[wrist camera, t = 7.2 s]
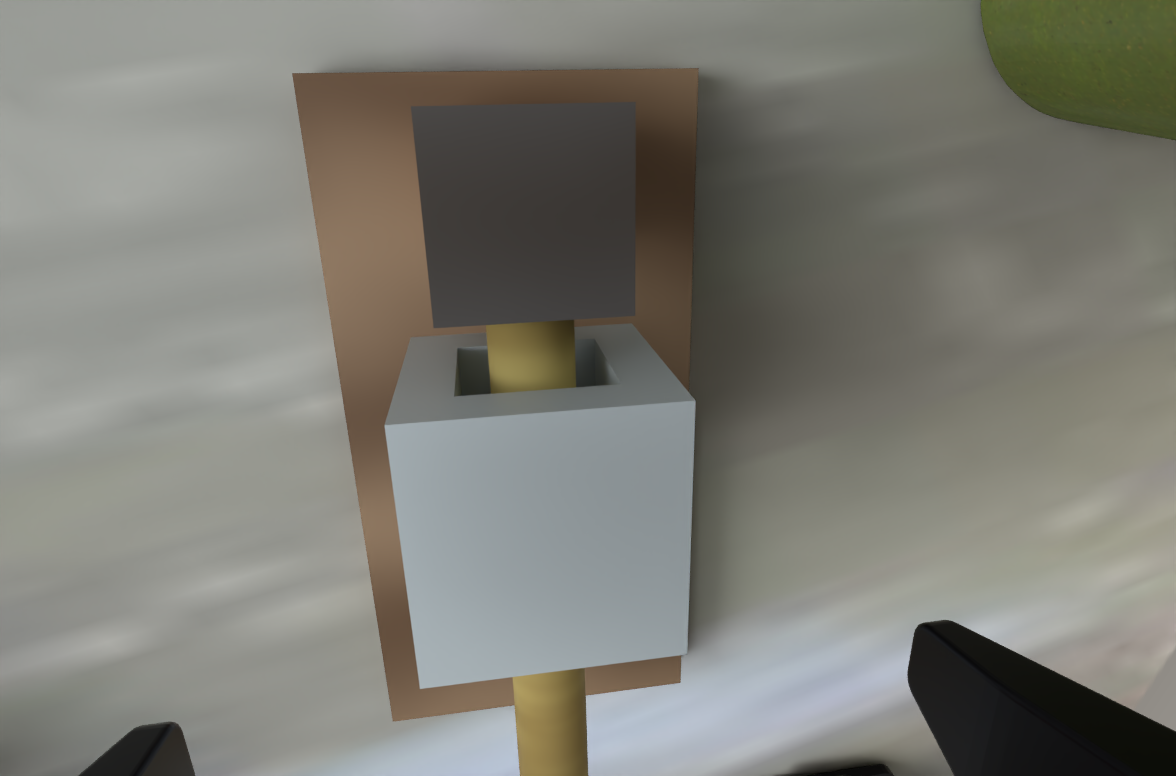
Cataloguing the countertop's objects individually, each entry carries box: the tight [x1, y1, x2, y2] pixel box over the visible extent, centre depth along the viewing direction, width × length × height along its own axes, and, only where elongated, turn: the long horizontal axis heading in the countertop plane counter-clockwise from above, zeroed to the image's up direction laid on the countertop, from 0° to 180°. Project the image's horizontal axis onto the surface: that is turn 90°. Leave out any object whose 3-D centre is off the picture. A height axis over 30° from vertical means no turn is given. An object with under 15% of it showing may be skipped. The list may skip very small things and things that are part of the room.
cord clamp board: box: [292, 68, 699, 776], centre depth 16 cm, size 18×9×8 cm, turn 1°
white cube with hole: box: [384, 323, 696, 689], centre depth 14 cm, size 5×5×5 cm
